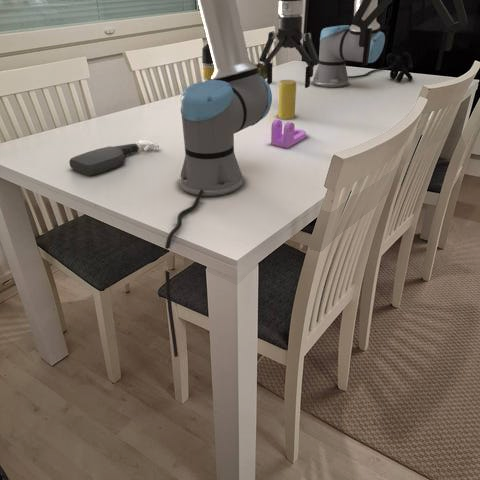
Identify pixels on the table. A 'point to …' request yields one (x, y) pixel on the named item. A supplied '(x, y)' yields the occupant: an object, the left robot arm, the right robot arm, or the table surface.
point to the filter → (207, 62)
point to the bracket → (285, 134)
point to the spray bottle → (106, 157)
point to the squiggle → (399, 66)
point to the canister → (287, 99)
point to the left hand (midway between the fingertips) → (400, 67)
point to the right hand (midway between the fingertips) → (288, 85)
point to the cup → (261, 70)
